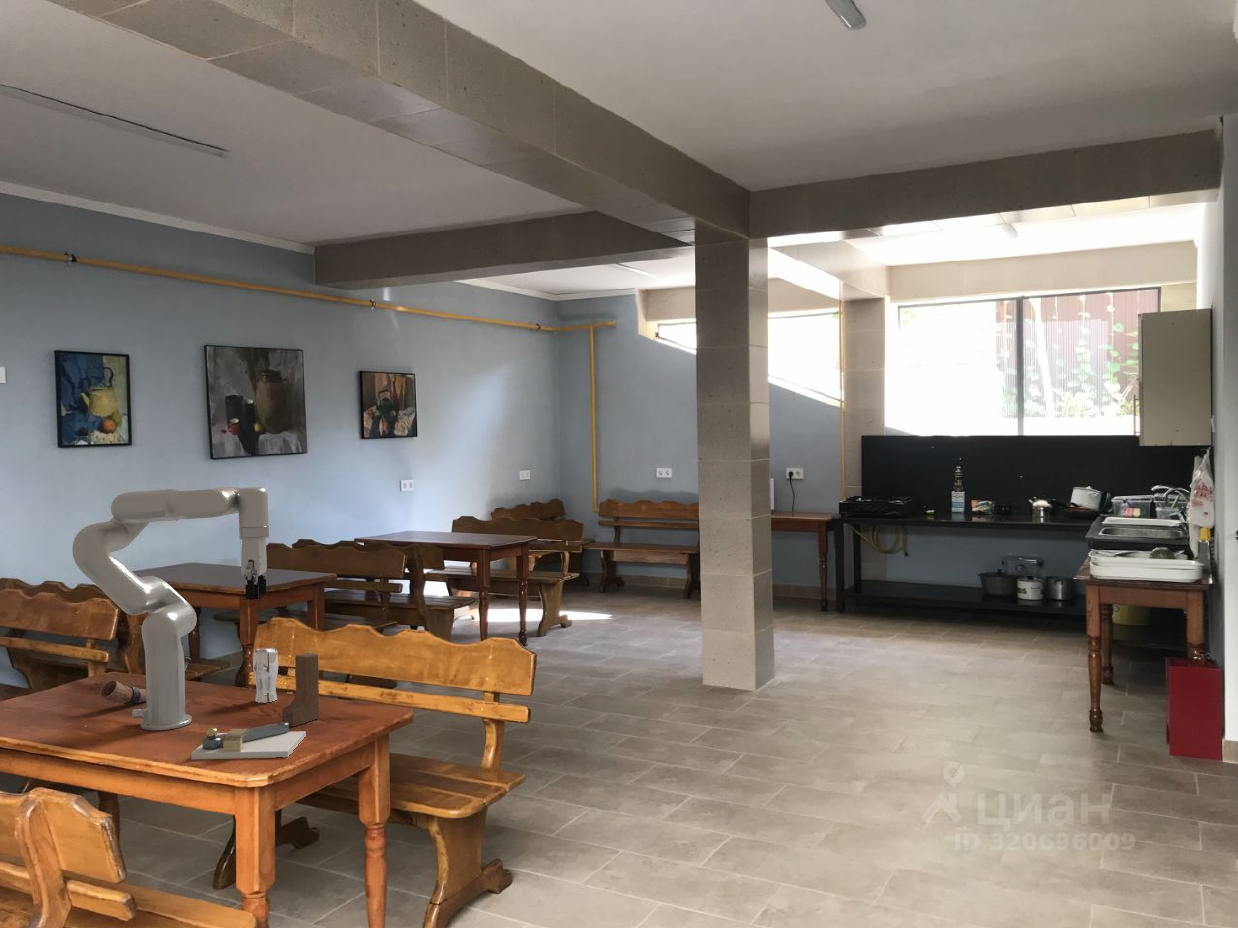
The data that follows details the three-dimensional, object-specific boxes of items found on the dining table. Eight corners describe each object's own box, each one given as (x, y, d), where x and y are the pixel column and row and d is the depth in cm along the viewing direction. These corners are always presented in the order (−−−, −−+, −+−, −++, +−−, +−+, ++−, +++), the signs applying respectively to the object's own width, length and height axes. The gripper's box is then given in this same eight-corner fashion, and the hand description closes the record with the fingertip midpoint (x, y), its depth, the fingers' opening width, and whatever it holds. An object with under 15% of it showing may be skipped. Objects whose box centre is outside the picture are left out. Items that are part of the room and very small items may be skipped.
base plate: (191, 759, 239) (191, 753, 239) (215, 738, 255) (215, 732, 255) (288, 757, 241) (287, 751, 240) (305, 736, 256) (305, 731, 256)
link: (206, 750, 240) (206, 742, 240) (199, 746, 244) (199, 738, 244) (292, 731, 255) (292, 723, 255) (284, 727, 258) (284, 720, 258)
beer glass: (264, 705, 287) (263, 653, 286) (248, 701, 290) (247, 651, 290) (283, 699, 293) (283, 649, 292) (268, 696, 296) (267, 646, 296)
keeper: (201, 752, 240) (201, 733, 240) (210, 744, 246) (210, 726, 246) (240, 751, 240) (240, 732, 240) (248, 743, 246) (248, 725, 246)
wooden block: (292, 727, 265) (291, 660, 265) (281, 724, 268) (280, 658, 267) (319, 718, 273) (318, 653, 272) (309, 716, 275) (308, 652, 275)
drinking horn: (96, 712, 281) (96, 677, 280) (184, 687, 308) (184, 655, 307) (110, 714, 278) (109, 679, 278) (197, 689, 305) (196, 657, 305)
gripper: (246, 530, 275) (249, 592, 275) (231, 536, 258) (234, 602, 258) (275, 529, 276) (277, 590, 277) (261, 535, 259) (264, 600, 259)
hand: (256, 596), depth 267 cm, fingers open, 9 cm apart
